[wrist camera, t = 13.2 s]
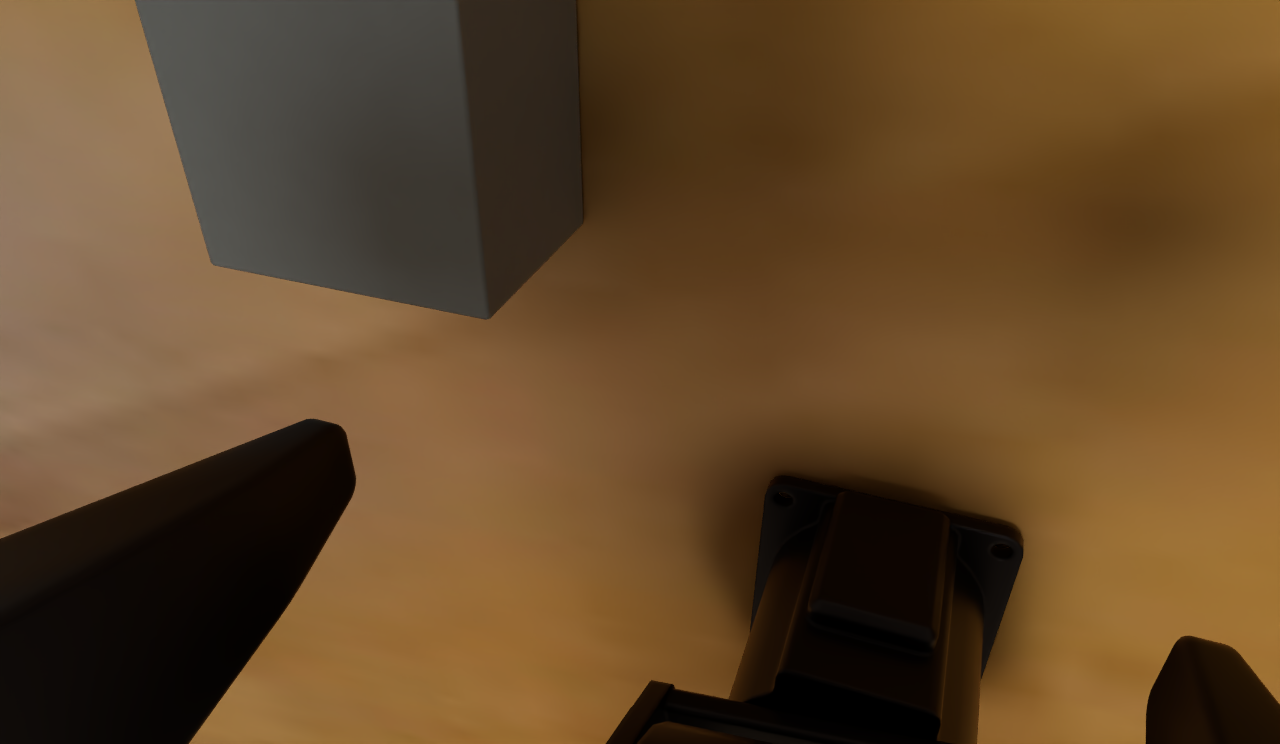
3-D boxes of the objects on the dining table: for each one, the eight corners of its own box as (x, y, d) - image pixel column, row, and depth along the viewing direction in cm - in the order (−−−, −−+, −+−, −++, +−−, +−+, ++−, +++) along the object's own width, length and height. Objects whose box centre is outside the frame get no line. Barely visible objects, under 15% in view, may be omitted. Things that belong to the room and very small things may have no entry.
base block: (584, 224, 22) (489, 322, 18) (343, 185, 24) (210, 265, 20) (574, -94, 18) (451, -56, 14) (287, -110, 20) (109, -81, 16)
